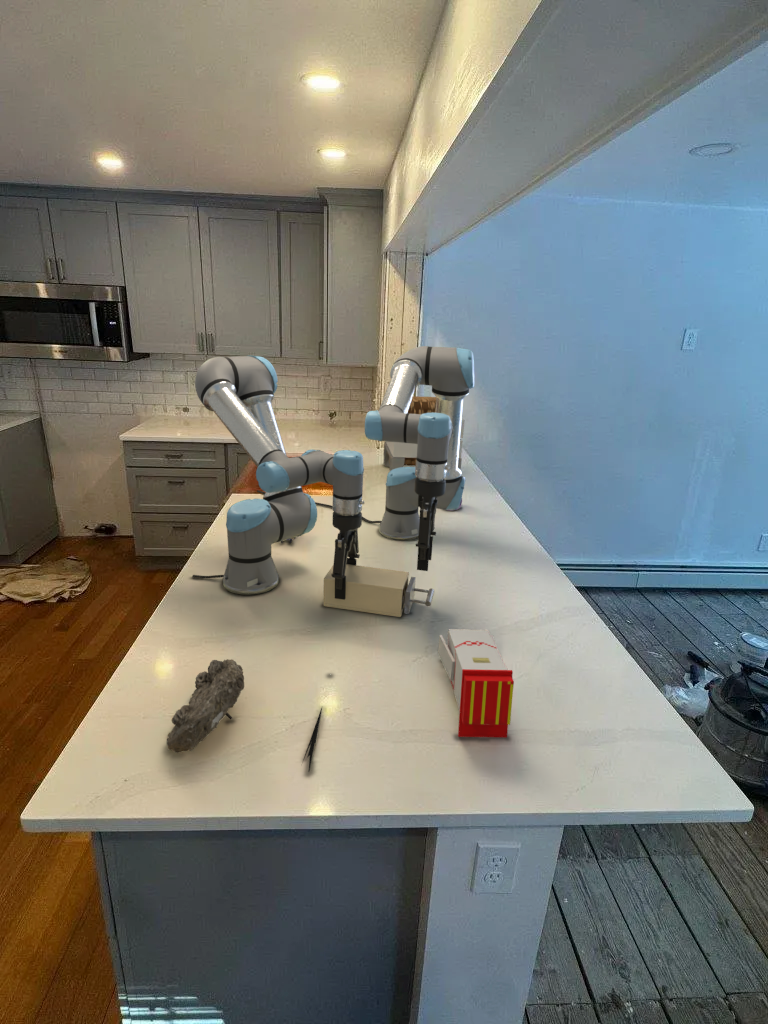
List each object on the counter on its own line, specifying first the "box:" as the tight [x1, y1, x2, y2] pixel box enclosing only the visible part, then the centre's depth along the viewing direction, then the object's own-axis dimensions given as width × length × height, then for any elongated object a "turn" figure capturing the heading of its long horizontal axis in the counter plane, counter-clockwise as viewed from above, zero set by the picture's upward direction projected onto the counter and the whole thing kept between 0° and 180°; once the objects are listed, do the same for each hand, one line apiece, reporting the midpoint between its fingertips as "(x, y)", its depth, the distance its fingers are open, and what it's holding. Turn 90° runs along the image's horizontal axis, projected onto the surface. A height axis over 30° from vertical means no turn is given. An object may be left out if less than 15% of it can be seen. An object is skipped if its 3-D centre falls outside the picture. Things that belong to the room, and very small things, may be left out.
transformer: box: [383, 395, 465, 472], centre depth 268 cm, size 34×33×41 cm
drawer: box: [402, 576, 435, 615], centre depth 150 cm, size 25×9×6 cm, turn 78°
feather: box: [301, 673, 332, 771], centre depth 108 cm, size 2×28×2 cm
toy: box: [437, 628, 515, 738], centre depth 117 cm, size 12×13×30 cm
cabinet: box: [323, 564, 410, 618], centre depth 151 cm, size 21×10×8 cm, turn 78°
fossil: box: [166, 658, 245, 754], centre depth 106 cm, size 22×10×15 cm
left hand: (345, 589), depth 152 cm, fingers closed on cabinet, 10 cm apart
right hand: (424, 564), depth 145 cm, fingers open, 6 cm apart
